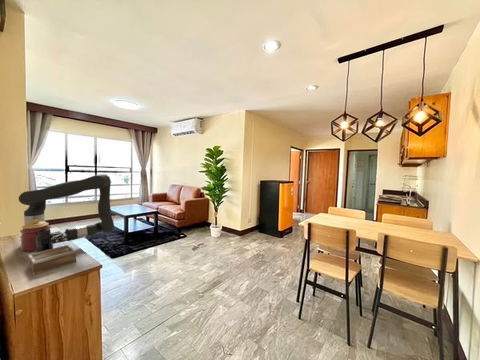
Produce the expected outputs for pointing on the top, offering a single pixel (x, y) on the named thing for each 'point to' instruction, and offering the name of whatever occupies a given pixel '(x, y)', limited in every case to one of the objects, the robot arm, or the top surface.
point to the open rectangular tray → (51, 258)
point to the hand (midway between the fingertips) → (39, 240)
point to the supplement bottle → (43, 235)
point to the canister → (31, 234)
